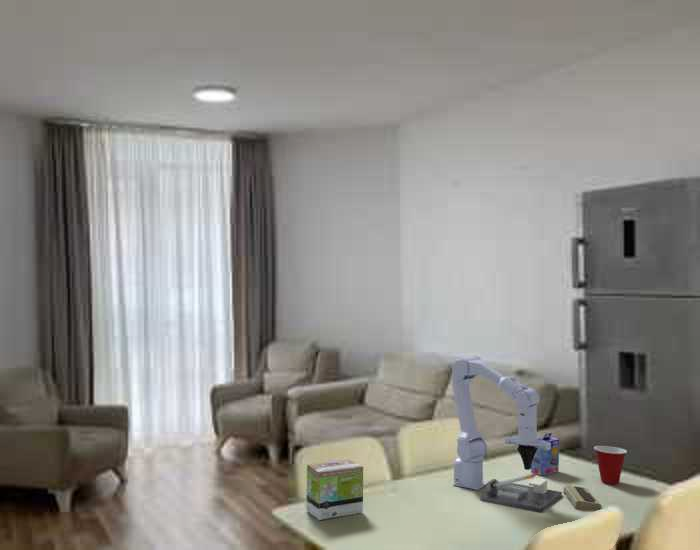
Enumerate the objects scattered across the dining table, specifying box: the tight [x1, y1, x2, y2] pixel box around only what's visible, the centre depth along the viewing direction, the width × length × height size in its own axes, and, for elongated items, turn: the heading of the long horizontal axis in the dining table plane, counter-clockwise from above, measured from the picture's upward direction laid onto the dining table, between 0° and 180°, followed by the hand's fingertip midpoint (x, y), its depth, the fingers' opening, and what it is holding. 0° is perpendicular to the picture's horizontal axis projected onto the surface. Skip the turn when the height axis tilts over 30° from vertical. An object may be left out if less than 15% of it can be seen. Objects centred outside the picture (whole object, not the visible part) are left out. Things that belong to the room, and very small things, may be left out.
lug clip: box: [528, 477, 548, 494], centre depth 232 cm, size 4×6×4 cm, turn 144°
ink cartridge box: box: [530, 432, 560, 477], centre depth 259 cm, size 10×6×14 cm, turn 125°
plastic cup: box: [593, 445, 628, 486], centre depth 247 cm, size 11×11×12 cm
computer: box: [562, 485, 602, 510], centre depth 228 cm, size 16×8×3 cm, turn 177°
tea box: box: [305, 458, 364, 521], centre depth 219 cm, size 15×10×15 cm, turn 117°
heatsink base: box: [480, 478, 563, 513], centre depth 231 cm, size 20×19×4 cm
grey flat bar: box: [492, 473, 537, 488], centre depth 231 cm, size 15×4×1 cm, turn 54°
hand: (527, 468), depth 228 cm, fingers closed
